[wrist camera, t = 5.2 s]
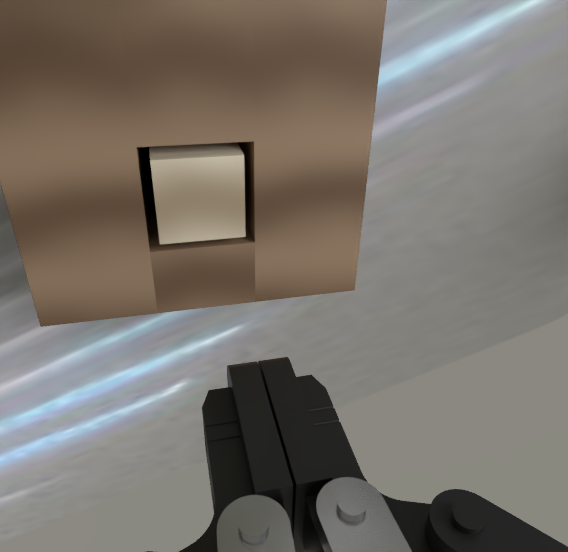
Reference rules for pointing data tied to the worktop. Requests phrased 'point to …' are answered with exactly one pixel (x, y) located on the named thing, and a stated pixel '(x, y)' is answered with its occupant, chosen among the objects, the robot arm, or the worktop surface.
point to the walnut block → (184, 131)
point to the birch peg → (198, 191)
